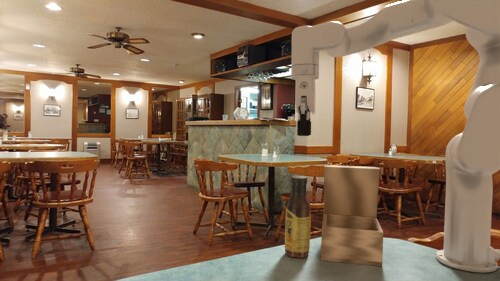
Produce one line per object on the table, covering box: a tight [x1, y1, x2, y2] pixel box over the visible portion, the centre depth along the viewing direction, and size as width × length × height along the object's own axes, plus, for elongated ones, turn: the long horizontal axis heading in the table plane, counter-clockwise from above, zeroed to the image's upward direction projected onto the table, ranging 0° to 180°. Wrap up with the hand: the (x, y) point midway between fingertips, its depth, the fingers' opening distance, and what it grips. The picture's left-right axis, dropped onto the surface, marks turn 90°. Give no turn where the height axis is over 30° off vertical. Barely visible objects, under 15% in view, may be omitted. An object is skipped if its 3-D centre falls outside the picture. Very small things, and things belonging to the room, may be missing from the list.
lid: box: [323, 164, 381, 218], centre depth 96 cm, size 14×14×1 cm
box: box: [320, 213, 384, 267], centre depth 91 cm, size 14×14×8 cm
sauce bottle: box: [284, 175, 312, 259], centre depth 89 cm, size 6×6×20 cm
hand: (304, 135), depth 98 cm, fingers open, 9 cm apart
